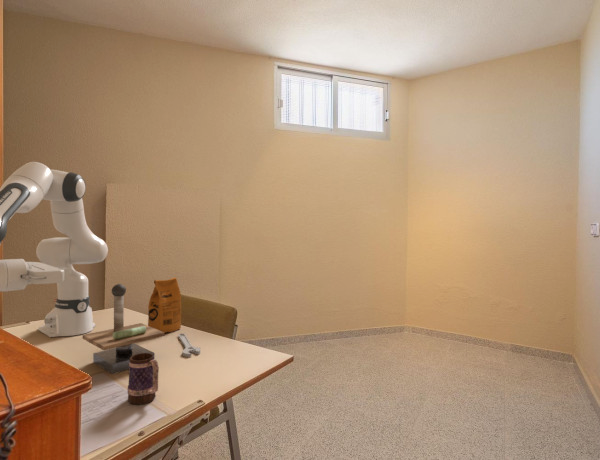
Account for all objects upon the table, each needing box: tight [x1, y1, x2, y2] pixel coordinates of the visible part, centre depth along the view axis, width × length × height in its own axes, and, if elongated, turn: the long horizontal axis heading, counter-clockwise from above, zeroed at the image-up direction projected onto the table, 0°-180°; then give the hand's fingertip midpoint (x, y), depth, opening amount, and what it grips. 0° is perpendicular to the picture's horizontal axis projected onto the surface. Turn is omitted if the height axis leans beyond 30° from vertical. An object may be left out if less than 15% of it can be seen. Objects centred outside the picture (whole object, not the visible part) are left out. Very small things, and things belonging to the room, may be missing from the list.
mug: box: [127, 353, 160, 406], centre depth 105 cm, size 10×7×12 cm
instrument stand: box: [92, 343, 155, 375], centre depth 132 cm, size 14×14×8 cm
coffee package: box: [147, 277, 182, 334], centre depth 167 cm, size 10×12×22 cm
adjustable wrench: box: [177, 333, 201, 358], centre depth 150 cm, size 25×6×2 cm, turn 22°
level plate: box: [82, 283, 165, 351], centre depth 131 cm, size 16×20×17 cm
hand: (69, 270), depth 122 cm, fingers closed
